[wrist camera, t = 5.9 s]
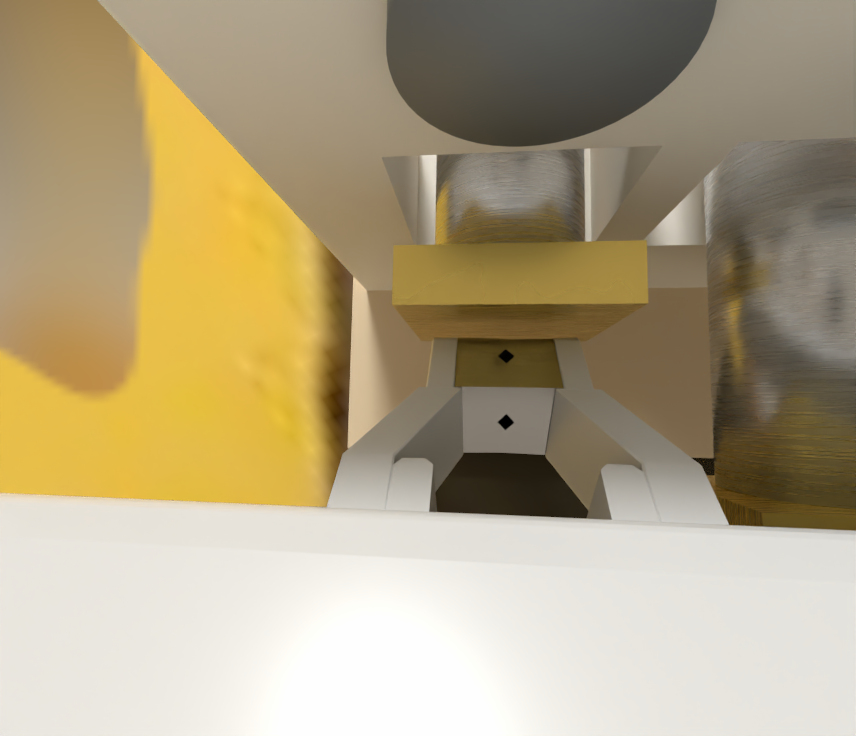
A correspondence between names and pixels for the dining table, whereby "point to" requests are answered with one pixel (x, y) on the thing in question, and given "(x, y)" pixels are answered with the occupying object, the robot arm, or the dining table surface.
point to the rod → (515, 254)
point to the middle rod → (783, 332)
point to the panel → (511, 141)
